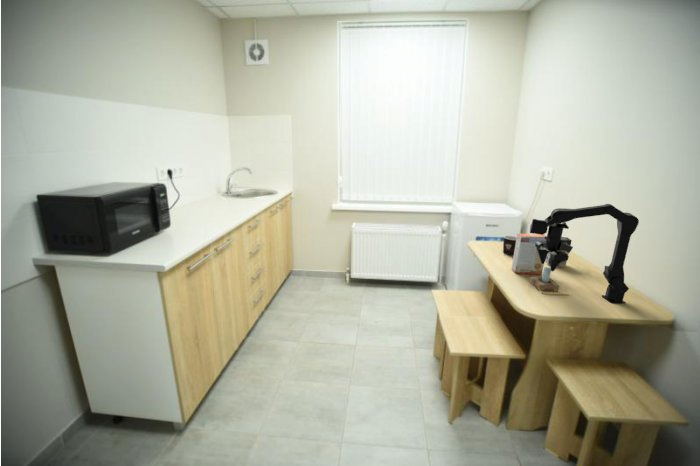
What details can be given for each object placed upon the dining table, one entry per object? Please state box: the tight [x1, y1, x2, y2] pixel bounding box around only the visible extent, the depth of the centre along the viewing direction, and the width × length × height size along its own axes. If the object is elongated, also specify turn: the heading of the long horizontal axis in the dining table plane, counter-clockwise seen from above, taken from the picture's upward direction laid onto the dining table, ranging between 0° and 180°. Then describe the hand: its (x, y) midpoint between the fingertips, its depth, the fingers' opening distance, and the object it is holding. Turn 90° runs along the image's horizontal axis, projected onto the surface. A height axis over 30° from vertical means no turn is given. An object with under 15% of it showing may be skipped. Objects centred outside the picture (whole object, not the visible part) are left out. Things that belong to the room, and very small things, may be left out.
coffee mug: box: [502, 235, 517, 256], centre depth 206 cm, size 12×9×10 cm
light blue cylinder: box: [541, 266, 552, 283], centre depth 161 cm, size 3×3×10 cm
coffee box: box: [544, 236, 573, 268], centre depth 190 cm, size 9×6×16 cm
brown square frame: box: [529, 276, 560, 292], centre depth 162 cm, size 9×9×4 cm
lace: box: [538, 290, 570, 296], centre depth 158 cm, size 4×12×1 cm, turn 87°
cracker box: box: [511, 233, 547, 275], centre depth 177 cm, size 14×6×21 cm, turn 86°
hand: (547, 267), depth 159 cm, fingers open, 9 cm apart
